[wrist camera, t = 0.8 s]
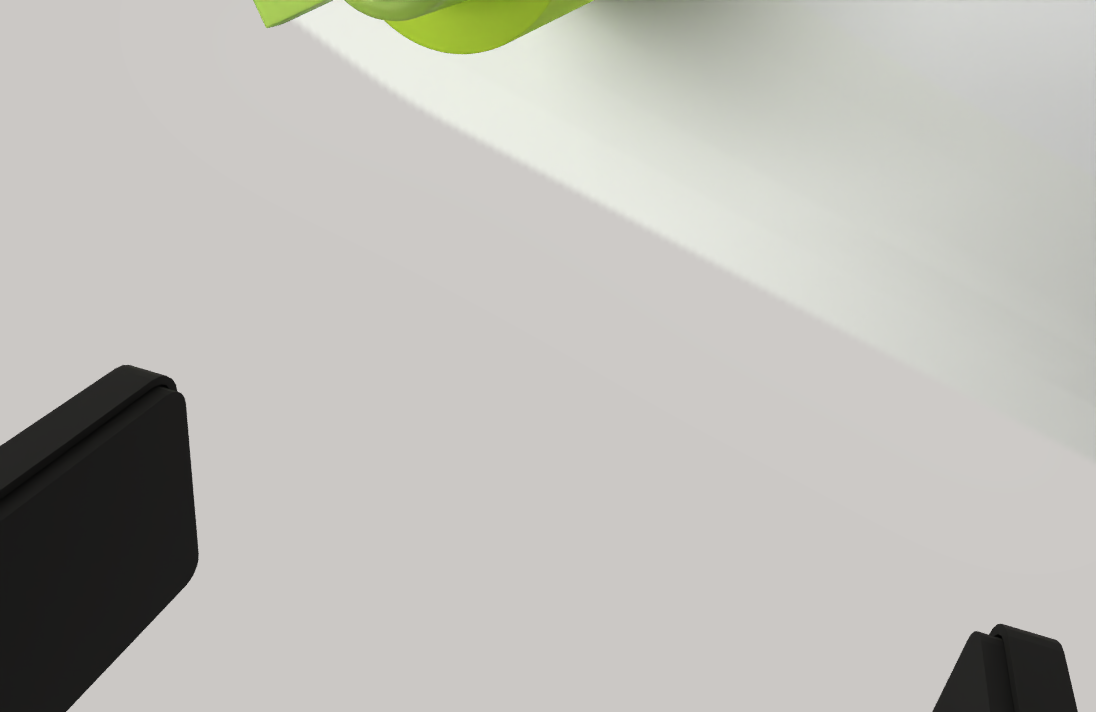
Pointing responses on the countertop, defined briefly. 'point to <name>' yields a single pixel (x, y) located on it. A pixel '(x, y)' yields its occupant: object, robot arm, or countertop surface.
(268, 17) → the soap dispenser
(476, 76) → the countertop surface
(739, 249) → the countertop surface
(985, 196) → the countertop surface
